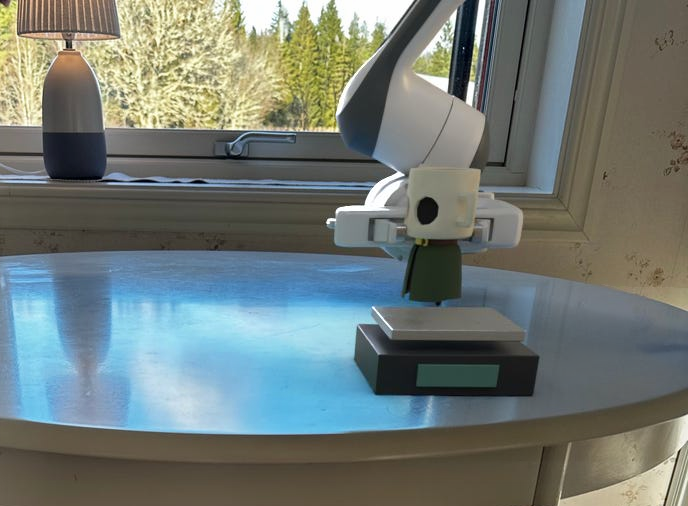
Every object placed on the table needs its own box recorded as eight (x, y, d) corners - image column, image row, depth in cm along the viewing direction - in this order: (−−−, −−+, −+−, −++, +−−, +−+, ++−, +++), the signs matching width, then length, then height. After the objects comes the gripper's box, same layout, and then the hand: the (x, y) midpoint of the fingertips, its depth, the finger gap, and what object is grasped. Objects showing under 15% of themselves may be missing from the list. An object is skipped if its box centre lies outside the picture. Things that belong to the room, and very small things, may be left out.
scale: (491, 360, 83) (497, 325, 81) (534, 396, 72) (541, 356, 71) (353, 359, 83) (356, 323, 81) (375, 395, 72) (379, 355, 70)
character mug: (374, 297, 105) (385, 166, 99) (428, 294, 108) (442, 165, 102) (431, 314, 97) (448, 171, 90) (488, 309, 99) (508, 170, 93)
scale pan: (490, 317, 80) (491, 307, 80) (524, 341, 71) (526, 330, 71) (371, 316, 80) (371, 306, 80) (391, 340, 71) (392, 329, 71)
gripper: (326, 191, 109) (341, 200, 97) (505, 191, 109) (542, 200, 97) (322, 250, 112) (336, 266, 100) (497, 250, 112) (532, 267, 100)
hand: (439, 234), depth 98 cm, fingers closed on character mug, 7 cm apart
